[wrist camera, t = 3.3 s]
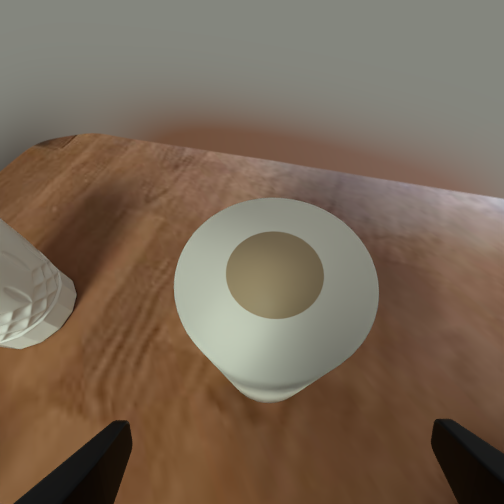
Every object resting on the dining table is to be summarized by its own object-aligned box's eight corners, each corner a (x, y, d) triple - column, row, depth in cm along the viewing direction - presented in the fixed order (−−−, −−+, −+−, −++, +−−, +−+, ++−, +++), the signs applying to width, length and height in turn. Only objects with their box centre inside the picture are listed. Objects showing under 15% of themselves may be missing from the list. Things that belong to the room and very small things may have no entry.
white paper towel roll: (330, 369, 19) (427, 303, 8) (251, 424, 17) (233, 439, 6) (280, 295, 22) (297, 174, 11) (209, 336, 20) (146, 243, 9)
